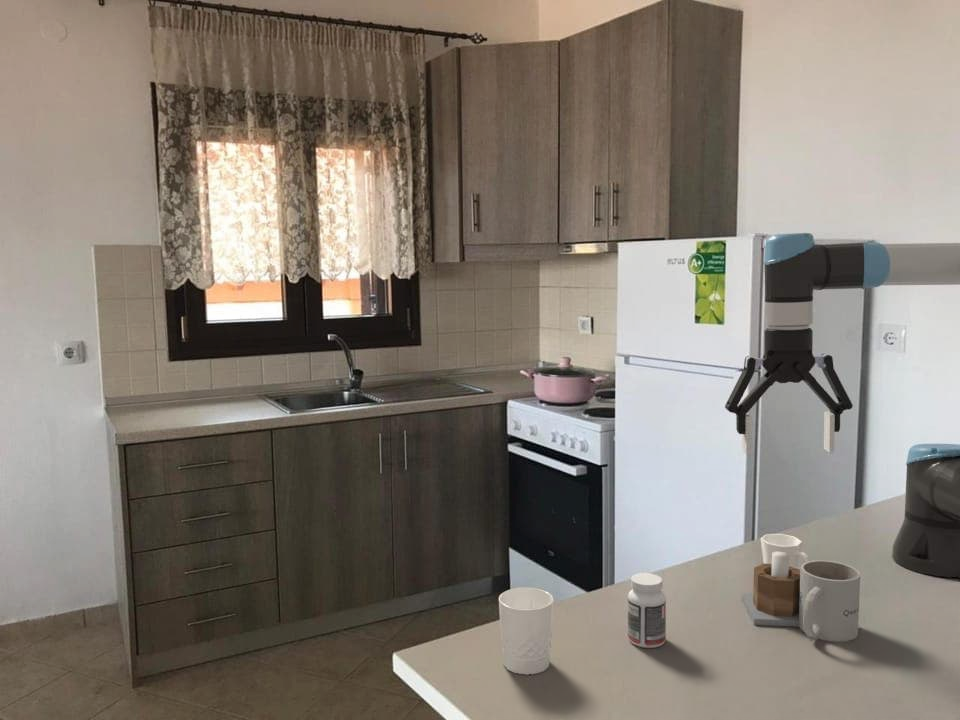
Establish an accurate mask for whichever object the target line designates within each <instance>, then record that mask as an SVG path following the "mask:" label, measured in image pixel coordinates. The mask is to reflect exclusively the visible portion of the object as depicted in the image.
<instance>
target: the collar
mask: <svg viewBox="0 0 960 720" xmlns="http://www.w3.org/2000/svg"><path fill="white" fill-rule="evenodd" d="M800 570H801V569H799V568H797V569H796V568H793V567H790V566H789V571H788V578H784V577H774V576H771V573H772V564H764V563H762V564H760V565H758V566H756V567H753V591H752V594H753V603H754V605H755V607H756V609H757V610H759V611H761V612H764V613H767V614H769V615H772V616H787V617H793V616H795V615H797V614H799V598H800Z"/></svg>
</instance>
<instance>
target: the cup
mask: <svg viewBox="0 0 960 720" xmlns="http://www.w3.org/2000/svg"><path fill="white" fill-rule="evenodd" d="M760 545H761V552H762V559H763V564H772V553H773V552H785V553H787V554H789V566H790V567H793V568H796V569H798V564H799V558H800V556H801V557H802V558H803V559H804V561H805V562H808V561H811V559H810V557H809V555H808V554H806V552H803V551H801V549H802V545H803V541H802V540H801V539H799V538H798V537H796V536H794V535H789V534H784V533H769V534H768V533H767V534H764V535H763V536H762V537H761V538H760Z"/></svg>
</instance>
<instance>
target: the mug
mask: <svg viewBox="0 0 960 720" xmlns="http://www.w3.org/2000/svg"><path fill="white" fill-rule="evenodd" d="M799 570H800V598H799V629H800V630H801V631H802V632H804V633H805V634H806V636H807V637H810V638H815V639H819V640H823V641H829V642H848V641H851V640H854V639H856V638H857V637H858V633H859V617H860V616H859V612H860V593H861V592H860V590H861V572H860V571H859V570H858V569H857V568H855V567H854V566H852V565H849V564H847V563H846V564H845V563H843V562H839V561H832V560H823V559H822V560H819V559H817V560H816V559H815V560H810V561H808V562H806V561H805V562H803V563H802V564H801V565H800V569H799Z"/></svg>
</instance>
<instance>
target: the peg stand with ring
mask: <svg viewBox="0 0 960 720" xmlns="http://www.w3.org/2000/svg"><path fill="white" fill-rule="evenodd" d="M788 571H789V554H787V553H785V552H773V553H772V573H771V576H774V577H784V578H788ZM741 601H742V603H743V605H744V607H745V609H746V611H747V613H748V616H749V618H750V620H751V622H752V624H753V625H754V626H771V627H772V626H777V627H799V614H797V615H795V616H793V617H787V616H772V615H769V614H767V613H764V612H761V611H759V610H757V609H756V607H755V605H754V603H753V593H746V592H745V593H742V592H741ZM799 628H800V627H799Z"/></svg>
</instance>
